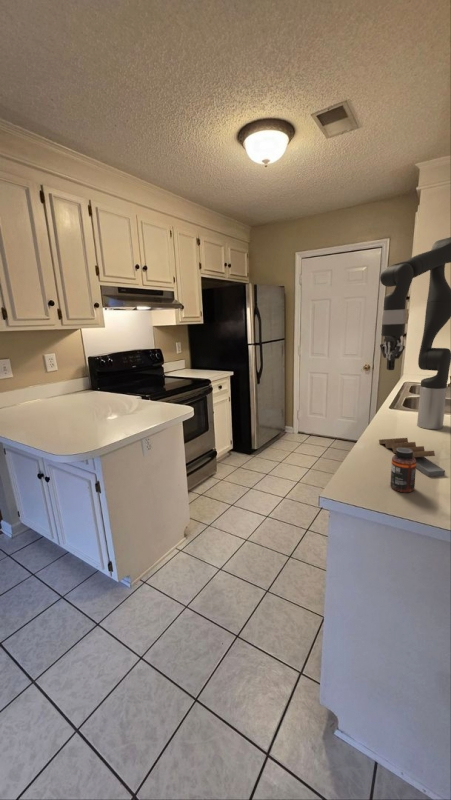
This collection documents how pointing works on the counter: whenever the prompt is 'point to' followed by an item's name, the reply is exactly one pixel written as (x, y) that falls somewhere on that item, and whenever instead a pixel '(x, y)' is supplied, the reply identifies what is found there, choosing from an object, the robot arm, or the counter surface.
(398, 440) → the domino
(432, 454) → the domino
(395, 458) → the supplement bottle
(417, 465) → the domino
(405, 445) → the domino
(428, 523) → the counter surface
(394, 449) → the domino
